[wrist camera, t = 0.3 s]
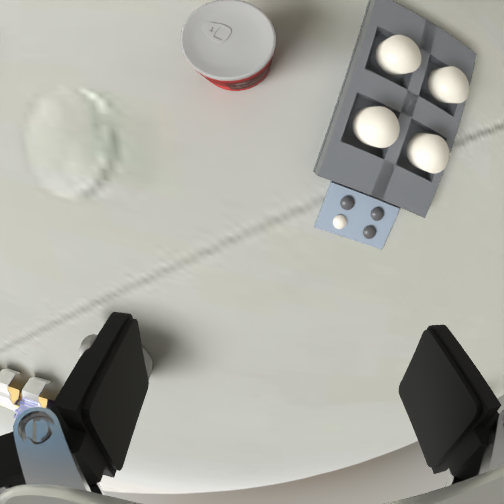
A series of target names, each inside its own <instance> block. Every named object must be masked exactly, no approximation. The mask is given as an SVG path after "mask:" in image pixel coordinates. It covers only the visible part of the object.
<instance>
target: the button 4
mask: <svg viewBox="0 0 504 504" xmlns="http://www.w3.org/2000/svg"><path fill="white" fill-rule="evenodd" d="M427 82H428V88H429V91H430V93H431V95H432V96H433V97H434V98H435V99H436V100H437V101H439V102H441V103H462V102H464V101H465V100H466V99H467V98H468V95H469V90H470V89H469V82H468V80H467V78H466V76H465V74H464V73H463V72H462V71H461V70H460V69H458V68H456V67H453V66H449V67H443V68H437V69H434V70H432V71H431V72H430V74H429V76H428V81H427Z"/></svg>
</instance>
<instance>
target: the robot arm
mask: <svg viewBox="0 0 504 504" xmlns="http://www.w3.org/2000/svg"><path fill="white" fill-rule="evenodd" d="M148 384H149V380H148V375H147V370H146V365H145V360H144V355H143V350H142V344H141V339H140V333H139V327H138V322H137V320H136V319H133V318H132V315H131V314H127V313H119V312H113V313H112V314H111V315H110V317H109V318H108V320H107V321H106V323H105V324H104V326H103V328H102V329H101V331H100V332H99V334H98V335H97V337H96V339H95V340H94V342H93V343H92V345H91V347H90V348H88V349H86V350H85V351H84V353H83V354H82V356H81V357H80V359H79V360H78V362H77V364H76V365H75V367H74V369H73V370H72V372H71V374H70V375H69V377H68V379H67V381H66V382H65V384H64V386H63V387H62V389H61V391H60V393H59V394H58V396H57V398H56V400H55V401H54V403H53V405H52V407H51V409H50V410H49V409H46V408H43V407H33V408H29V409H27V410H24V411H23V412H22V413H21V414H19V416H18V417H17V418H16V420H15V422H14V426H13V432H11V433H8V434H5V435H2V436H0V504H141V503H136V502H131V501H127V500H123V499H119V498H114V497H110V496H106V495H105V494H104V492H103V490H102V488H101V486H100V484H99V482H100V481H101V479H102V475H106V476H110V477H114V476H115V473H116V470H119V471H120V470H121V469H122V467H123V464H124V461H125V457H126V454H127V451H128V448H129V445H130V441H131V438H132V435H133V432H134V429H135V426H136V423H137V420H138V417H139V413H140V410H141V407H142V404H143V402H144V399H145V396H146V393H147V390H148ZM399 395H400V397H401V399H402V402H403V404H404V406H405V409H406V411H407V414H408V416H409V419H410V421H411V423H412V426H413V428H414V431H415V433H416V436H417V438H418V441H419V444H420V446H421V449H422V451H423V454H424V457H425V459H426V462H427V464H428V466H429V467H432V470H433V473H434V474H436V473H439V472H442V471H446V470H447V469H448V468H449V469H450V475H449V478H448V481H447V483H446V486H445V487H444V488H441V489H438V490H435V491H431V492H428V493H425V494H421V495H418V496H414V497H410V498H406V499H402V500H399V501H394V502H390V503H385V504H504V410H503V411H502V412H501V413H500V414H499V413H498V412H497V410H498V409H499V408H500V406H501V404H500V402H499V401H498V399H497V398H496V396H495V395H494V393H493V391H492V390H491V388H490V387H489V385H488V384H487V382H486V381H485V379H484V378H483V376H482V375H481V373H480V372H479V370H478V369H477V368H476V366H475V365H474V363H473V362H472V360H471V359H470V358H469V356H468V355H467V353H466V352H465V351H464V349H463V348H462V346H461V345H460V344H459V342H458V341H457V340H456V338H455V337H454V336H453V334H452V333H451V332H450V330H449V329H448V328H447V327H446V326H445V325H431V326H429V327H428V328H427V330H425V331H424V332H423V334H422V336H421V339H420V341H419V344H418V346H417V348H416V351H415V353H414V355H413V358H412V360H411V362H410V364H409V366H408V368H407V371H406V373H405V375H404V377H403V379H402V381H401V383H400V386H399Z"/></svg>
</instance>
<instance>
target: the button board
mask: <svg viewBox="0 0 504 504" xmlns="http://www.w3.org/2000/svg"><path fill="white" fill-rule="evenodd" d="M394 35H404V36H406V37H408V38H410V39H411V40H413V41H414V42H415V43H416V45H417V46H418V48H419V50H420V53H421V64H420V66H419V68H418V69H417V70H416V71H414V72H411V73H406V74H402V75H391V74H388V73H386V72H385V71H384V70H382V69H381V67H380V66H379V65H378V63H377V61H376V58H375V50H376V47H377V45H378V44H379V43H380V42H382V41H384V40H386V39H388V38H390V37H391V36H394ZM475 59H476V53H475V52H474V51H472V50H471V49H470V48H468V47H467V46H465V45H464V44H463V43H461V42H460V41H458V40H457V39H456V38H454V37H453V36H451V35H450V34H448V33H447V32H445V31H444V30H442V29H441V28H439V27H437V26H436V25H434V24H433V23H431V22H429V21H428V20H426V19H424V18H423V17H421V16H419V15H418V14H416V13H414V12H412V11H410V10H409V9H407V8H405V7H403V6H401V5H399V4H397V3H395V2H394V1H392V0H370V1H369V3H368V6H367V9H366V13H365V16H364V19H363V22H362V26H361V29H360V32H359V35H358V39H357V42H356V45H355V48H354V51H353V55H352V58H351V61H350V64H349V67H348V70H347V73H346V76H345V79H344V82H343V85H342V88H341V92H340V95H339V98H338V101H337V104H336V107H335V110H334V112H333V115H332V118H331V121H330V124H329V127H328V130H327V133H326V136H325V139H324V142H323V145H322V148H321V150H320V153H319V156H318V159H317V162H316V165H315V168H314V170H313V172H315V173H316V174H317V175H318V176H320V177H323V178H326V179H328V180H331V181H334V182H337V183H339V184H342V185H345V186H348V187H350V188H353V189H356V190H358V191H361V192H363V193H366V194H368V195H371V196H374V197H376V198H379V199H381V200H384V201H386V202H388V203H391V204H393V205H396V206H398V207H400V208H403V209H405V210H408V211H410V212H412V213H415V214H417V215H419V216H421V217H424V218H425V216H426V214H427V212H428V209H429V207H430V205H431V202H432V200H433V197H434V195H435V192H436V190H437V187H438V184H439V182H440V179H441V176H442V174H443V171H444V170H442V171H441V172H439V173H429V172H427V171H424V170H422V169H419V168H417V167H415V166H413V165H412V164H411V163H410V161H409V159H408V157H407V153H406V147H407V143H408V141H409V139H410V138H411V137H412V136H413V135H414V134H416V133H428V134H434V135H438V136H440V137H442V138H443V139H444V140H445V141H446V143H447V145H448V147H449V153H450V151H451V148H452V145H453V142H454V139H455V136H456V133H457V129H458V126H459V123H460V119H461V116H462V112H463V109H464V105H465V102H466V100H465V101H464V102H462V103H441V102H439V101H437V100H436V99H435V98H434V97H433V96H432V95H431V93H430V91H429V88H428V82H427V81H428V76H429V74H430V72H431V71H432V70H434V69H437V68H443V67H449V66H453V67H456V68H458V69H460V70H461V71H462V72H463V73H464V74H465V76H466V78H467V80H468V82H469V86H470V82H471V77H472V73H473V68H474V64H475ZM374 106H382V107H386V108H388V109H390V110H391V111H392V112H393V113H394V114H395V115H396V117H397V119H398V121H399V126H400V131H399V136H398V138H397V140H396V141H395V142H394V143H393V144H392V145H391V146H389V147H386V148H378V147H374V146H371V145H367V144H364V143H362V142H361V141H360V140H359V139H358V138H357V137H356V135H355V134H354V131H353V126H352V125H353V118H354V116H355V114H356V113H357V112H358V111H359V110H360V109H362V108H365V107H374ZM388 203H385V202H383V201H380V200H378V199H375V198H373V197H370V196H367V195H365V194H362V193H360V192H357V191H354V190H352V189H349V188H346V187H344V186H341V185H338V184H335V183H333V182H331V183H330V186H329V189H328V191H327V194H326V197H325V199H324V202H323V205H322V207H321V210H320V212H319V215H318V218H317V220H316V223H315V225H314V227H315V228H318V229H321V230H324V231H328V232H331V233H334V234H337V235H340V236H343V237H346V238H349V239H352V240H355V241H358V242H361V243H364V244H367V245H370V246H373V247H376V248H379V249H382V248H383V246H384V244H385V241H386V239H387V237H388V235H389V232H390V230H391V228H392V226H393V223H394V221H395V219H396V216H397V214H398V211H399V208H397V207H395V206H392V205H390V204H388Z"/></svg>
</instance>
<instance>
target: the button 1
mask: <svg viewBox="0 0 504 504" xmlns="http://www.w3.org/2000/svg"><path fill="white" fill-rule="evenodd" d="M352 126H353V131H354V134H355V135H356V137H357V138H358V139H359V140H360V141H361V142H362V143H364V144H367V145H371V146H374V147H378V148H386V147H389V146H391V145H392V144H393V143H394V142H395V141H396V140H397V138H398V136H399V131H400V126H399V121H398V119H397V117H396V115H395V114H394V113H393V112H392V111H391V110H390V109H388V108H386V107H382V106H374V107H365V108H362V109H360V110H359V111H358V112H357V113H356V114H355V116H354V118H353V125H352Z"/></svg>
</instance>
